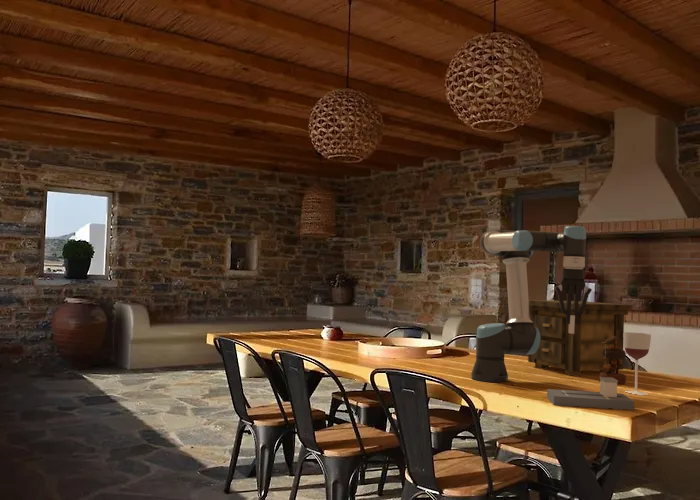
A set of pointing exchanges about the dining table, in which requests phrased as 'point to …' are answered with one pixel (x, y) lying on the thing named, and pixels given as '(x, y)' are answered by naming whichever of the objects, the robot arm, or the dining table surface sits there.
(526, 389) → the dining table surface
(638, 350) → the wineglass
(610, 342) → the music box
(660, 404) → the dining table surface
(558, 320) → the wooden cabinet
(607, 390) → the fader tab
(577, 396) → the fader console
